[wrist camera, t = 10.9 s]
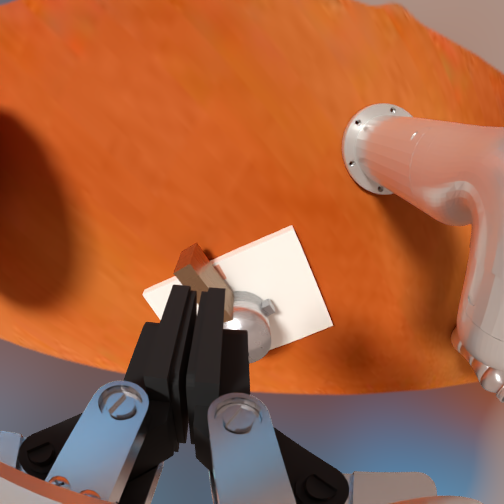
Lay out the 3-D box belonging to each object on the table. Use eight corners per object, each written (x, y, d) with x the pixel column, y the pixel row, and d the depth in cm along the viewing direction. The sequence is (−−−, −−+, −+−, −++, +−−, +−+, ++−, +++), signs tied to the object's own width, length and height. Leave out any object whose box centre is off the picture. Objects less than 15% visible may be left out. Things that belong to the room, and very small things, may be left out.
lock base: (291, 225, 43) (293, 229, 42) (331, 319, 50) (333, 325, 49) (145, 289, 47) (142, 295, 45) (202, 366, 54) (201, 373, 52)
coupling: (283, 317, 47) (289, 346, 41) (226, 344, 49) (225, 374, 43) (222, 226, 41) (218, 247, 35) (160, 262, 43) (148, 287, 37)
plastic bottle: (448, 324, 53) (498, 394, 34) (473, 311, 52) (526, 375, 34) (446, 346, 55) (490, 413, 37) (470, 333, 54) (517, 396, 36)
